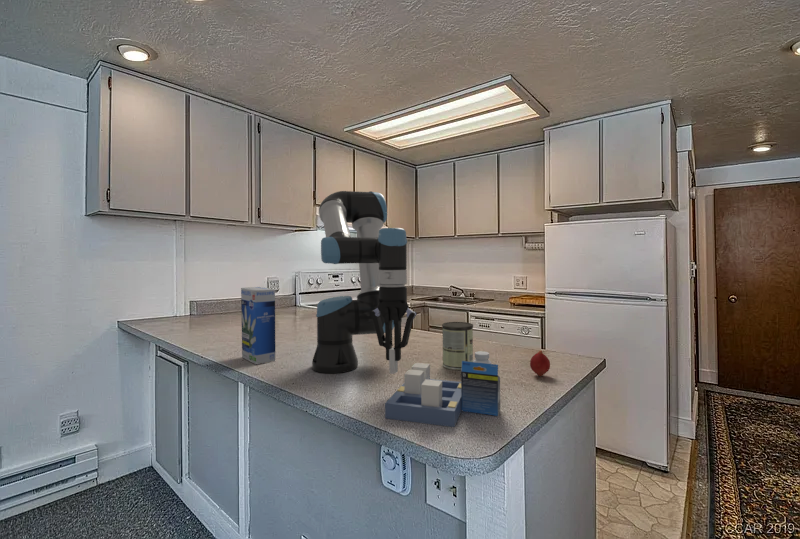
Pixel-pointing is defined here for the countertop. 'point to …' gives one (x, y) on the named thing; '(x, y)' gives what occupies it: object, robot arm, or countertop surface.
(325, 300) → the robot arm
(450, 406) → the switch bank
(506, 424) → the countertop surface
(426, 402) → the tab near
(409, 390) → the tab middle
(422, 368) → the tab far
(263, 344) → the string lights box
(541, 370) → the onion
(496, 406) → the label tape box
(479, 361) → the supplement bottle
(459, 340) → the coffee can
